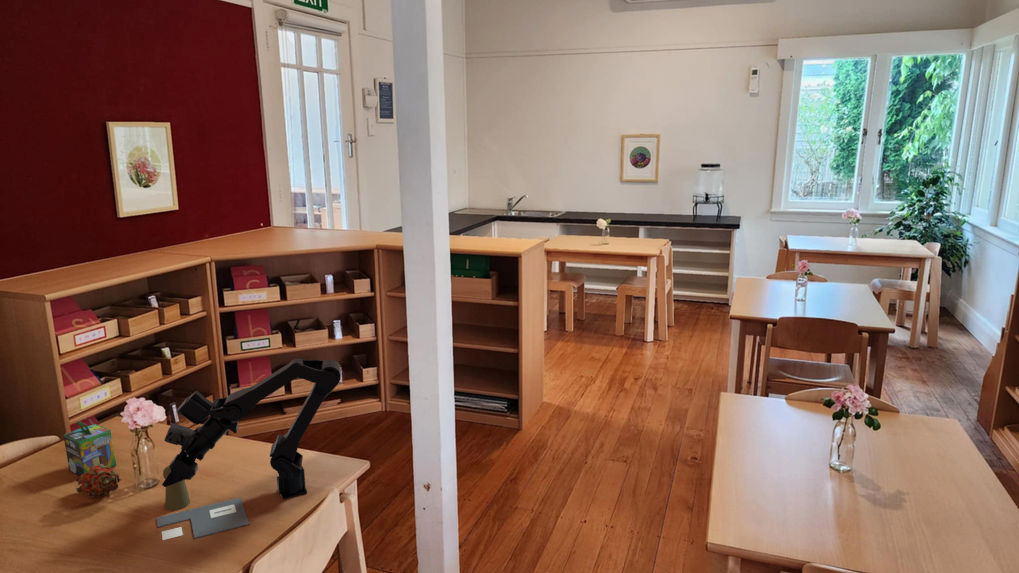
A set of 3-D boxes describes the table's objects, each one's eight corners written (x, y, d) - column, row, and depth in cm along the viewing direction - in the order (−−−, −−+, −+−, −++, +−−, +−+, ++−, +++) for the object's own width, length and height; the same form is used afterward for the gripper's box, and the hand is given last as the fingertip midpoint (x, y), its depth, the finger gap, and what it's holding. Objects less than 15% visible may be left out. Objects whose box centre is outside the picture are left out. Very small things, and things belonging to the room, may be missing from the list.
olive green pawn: (171, 513, 173) (167, 474, 170) (160, 505, 176) (156, 467, 174) (194, 503, 177) (190, 465, 175) (183, 495, 181) (179, 458, 178)
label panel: (240, 498, 180) (240, 496, 180) (249, 524, 168) (249, 523, 168) (156, 518, 170) (156, 517, 170) (159, 548, 158) (159, 546, 158)
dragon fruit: (120, 503, 180) (83, 503, 183) (134, 473, 186) (98, 474, 188) (98, 489, 174) (60, 490, 177) (114, 459, 179) (77, 460, 182)
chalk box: (117, 466, 196) (110, 419, 193) (84, 479, 189) (76, 430, 186) (100, 458, 201) (94, 412, 198) (67, 470, 194) (60, 423, 190)
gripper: (191, 401, 181) (151, 443, 181) (174, 430, 163) (130, 477, 163) (225, 425, 184) (186, 466, 184) (212, 456, 167) (169, 502, 167)
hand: (168, 476), depth 175 cm, fingers open, 9 cm apart
